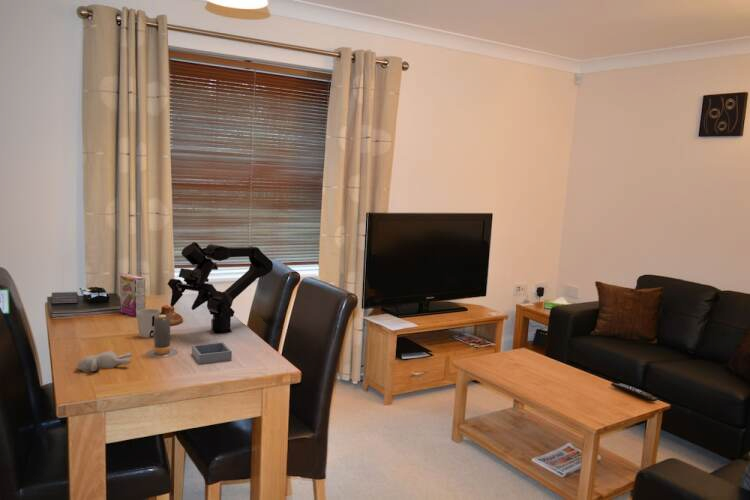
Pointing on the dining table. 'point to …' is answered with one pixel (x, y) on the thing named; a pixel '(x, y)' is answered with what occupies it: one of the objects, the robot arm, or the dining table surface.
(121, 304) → the candy bar box
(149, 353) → the pad
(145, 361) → the dining table surface
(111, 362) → the bunny figurine
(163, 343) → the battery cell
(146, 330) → the cup
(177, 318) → the brown rounded piece
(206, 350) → the dish
